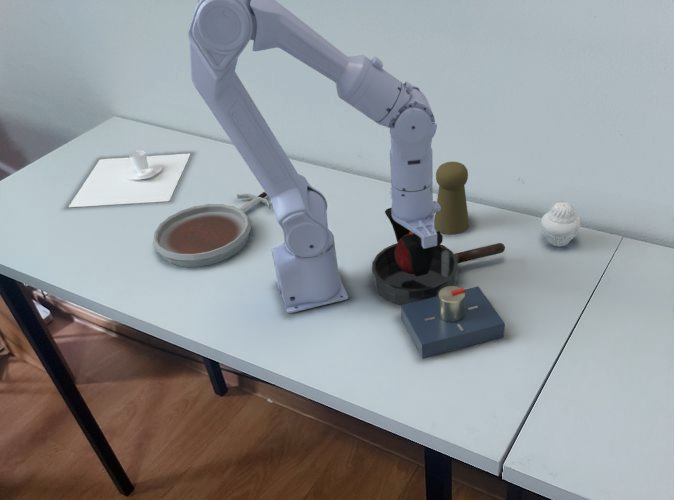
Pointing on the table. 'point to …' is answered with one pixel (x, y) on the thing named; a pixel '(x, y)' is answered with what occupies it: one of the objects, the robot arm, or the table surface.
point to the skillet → (413, 276)
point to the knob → (451, 303)
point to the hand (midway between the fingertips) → (414, 262)
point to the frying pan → (205, 233)
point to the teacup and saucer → (131, 180)
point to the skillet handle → (479, 252)
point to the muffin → (560, 224)
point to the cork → (451, 198)
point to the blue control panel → (451, 324)
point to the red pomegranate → (403, 256)
